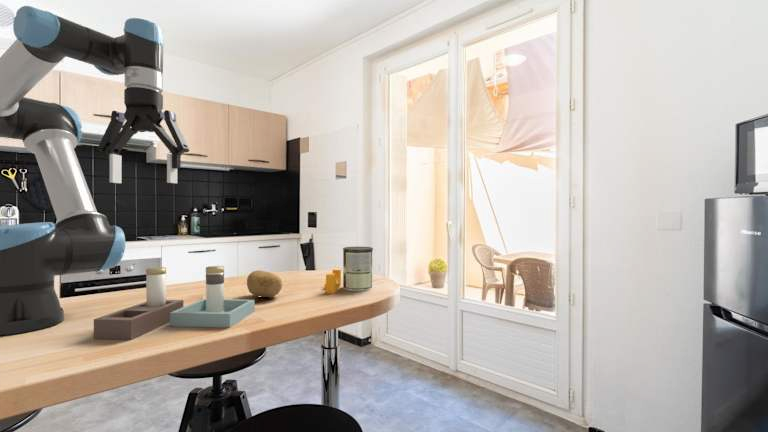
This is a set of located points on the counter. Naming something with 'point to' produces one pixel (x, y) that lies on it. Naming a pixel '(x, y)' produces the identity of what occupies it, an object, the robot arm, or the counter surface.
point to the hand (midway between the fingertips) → (143, 183)
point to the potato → (263, 284)
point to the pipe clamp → (333, 281)
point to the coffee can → (357, 268)
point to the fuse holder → (134, 321)
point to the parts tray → (212, 314)
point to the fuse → (156, 287)
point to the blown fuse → (215, 289)
